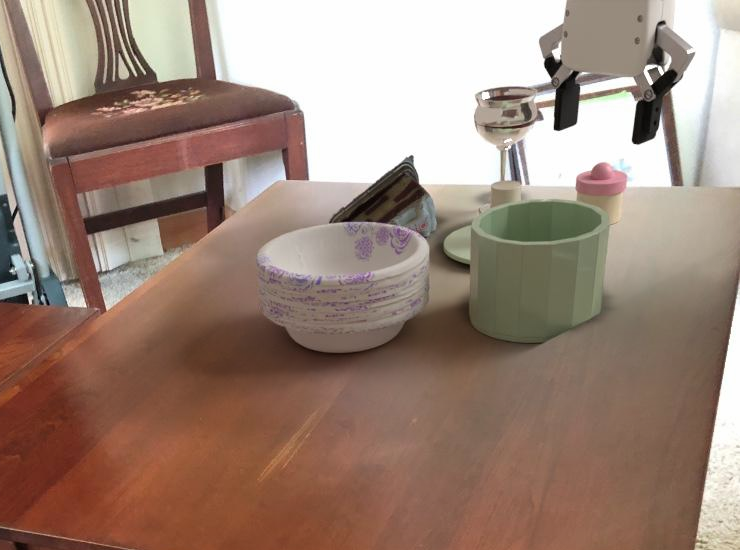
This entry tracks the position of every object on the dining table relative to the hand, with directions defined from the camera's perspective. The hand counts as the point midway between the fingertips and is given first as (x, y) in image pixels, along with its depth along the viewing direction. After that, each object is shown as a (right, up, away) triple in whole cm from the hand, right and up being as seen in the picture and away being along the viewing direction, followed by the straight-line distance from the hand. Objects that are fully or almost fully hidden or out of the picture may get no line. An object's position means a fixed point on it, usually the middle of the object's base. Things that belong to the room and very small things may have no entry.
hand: (603, 134), depth 99 cm
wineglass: (-8, -3, +11) cm, 14 cm away
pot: (-10, -23, -12) cm, 28 cm away
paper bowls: (-27, -24, -11) cm, 38 cm away
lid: (-10, -11, 0) cm, 15 cm away
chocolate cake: (-21, -8, +7) cm, 24 cm away
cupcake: (+1, -7, +5) cm, 9 cm away
